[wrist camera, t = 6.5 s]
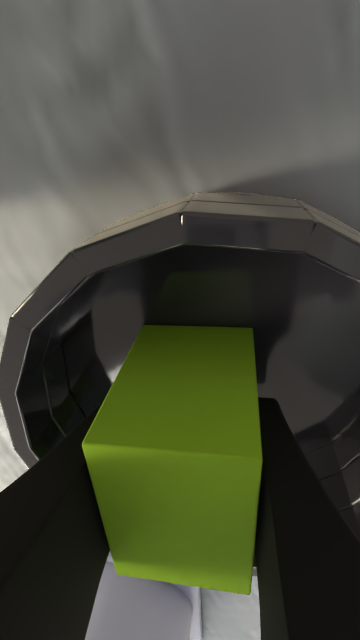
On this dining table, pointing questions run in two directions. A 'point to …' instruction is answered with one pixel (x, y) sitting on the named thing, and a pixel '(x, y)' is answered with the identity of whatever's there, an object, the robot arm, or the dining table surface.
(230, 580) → the green block
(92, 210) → the dining table surface
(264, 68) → the dining table surface
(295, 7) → the dining table surface
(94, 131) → the dining table surface
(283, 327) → the bowl
